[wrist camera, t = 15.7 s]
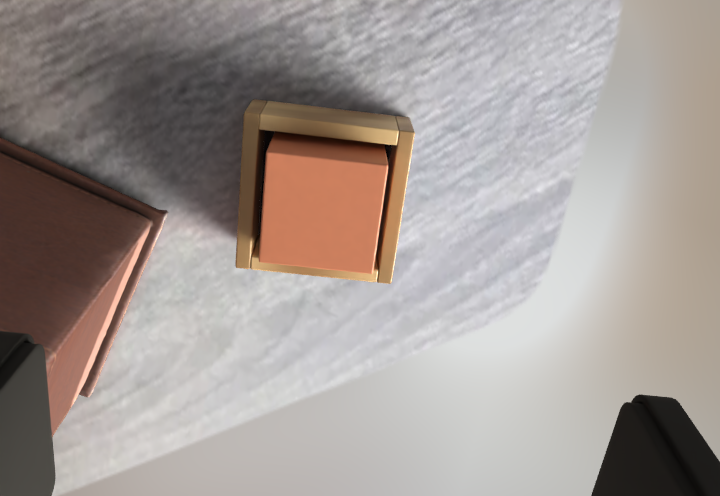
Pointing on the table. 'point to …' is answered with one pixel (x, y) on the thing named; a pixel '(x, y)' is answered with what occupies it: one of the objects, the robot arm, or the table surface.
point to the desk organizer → (68, 266)
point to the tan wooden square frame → (331, 126)
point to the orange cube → (322, 202)
